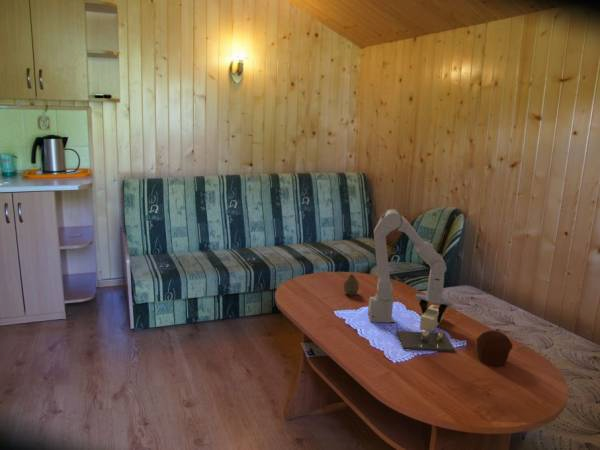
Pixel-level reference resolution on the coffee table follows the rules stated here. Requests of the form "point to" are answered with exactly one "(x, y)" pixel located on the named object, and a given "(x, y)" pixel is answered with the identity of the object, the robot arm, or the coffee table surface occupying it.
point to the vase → (351, 285)
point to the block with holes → (430, 318)
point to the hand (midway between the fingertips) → (431, 320)
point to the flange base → (425, 341)
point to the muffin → (493, 348)
